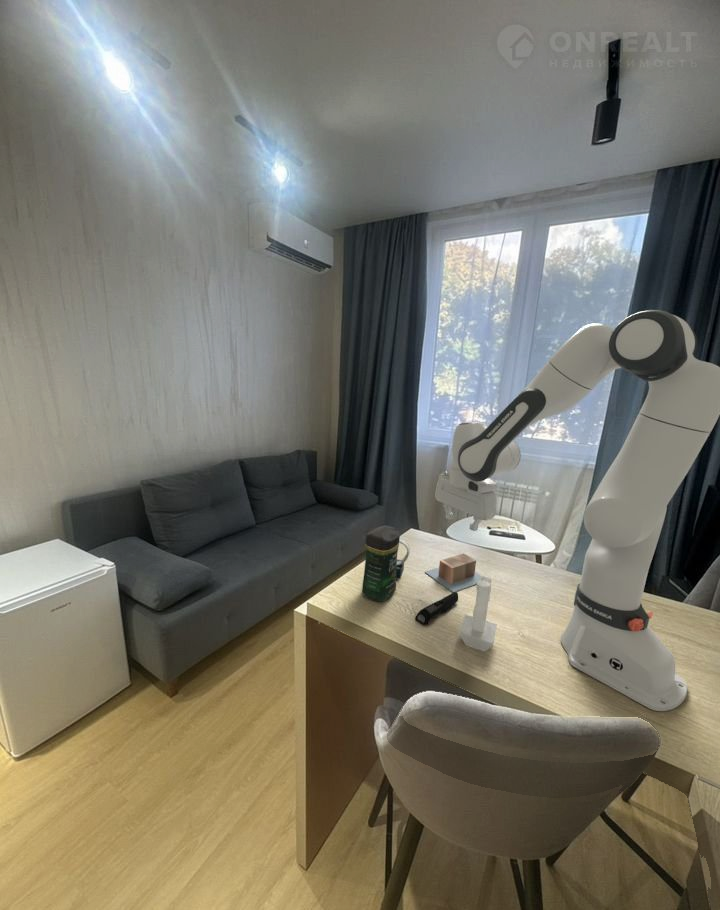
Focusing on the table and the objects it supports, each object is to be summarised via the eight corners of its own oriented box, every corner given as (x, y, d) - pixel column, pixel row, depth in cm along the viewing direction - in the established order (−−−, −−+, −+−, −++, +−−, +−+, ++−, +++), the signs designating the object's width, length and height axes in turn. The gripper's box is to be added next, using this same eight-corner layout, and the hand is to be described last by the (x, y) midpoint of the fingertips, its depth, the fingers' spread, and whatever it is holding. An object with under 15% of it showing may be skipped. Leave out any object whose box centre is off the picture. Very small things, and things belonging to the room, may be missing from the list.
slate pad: (487, 580, 111) (487, 579, 111) (453, 592, 104) (453, 591, 104) (457, 562, 121) (457, 561, 121) (424, 572, 114) (424, 571, 114)
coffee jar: (383, 606, 96) (387, 540, 92) (357, 595, 100) (360, 531, 96) (400, 589, 104) (405, 527, 100) (376, 580, 108) (379, 520, 104)
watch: (383, 566, 117) (385, 533, 114) (409, 571, 114) (411, 537, 112) (379, 574, 111) (381, 540, 109) (405, 580, 109) (408, 545, 107)
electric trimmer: (461, 605, 99) (462, 594, 99) (425, 628, 89) (426, 616, 89) (450, 598, 102) (451, 588, 101) (413, 620, 92) (414, 608, 91)
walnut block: (476, 560, 112) (452, 568, 107) (474, 575, 113) (450, 583, 108) (463, 553, 116) (439, 560, 111) (462, 568, 117) (438, 575, 112)
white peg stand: (456, 649, 82) (463, 588, 79) (464, 625, 91) (471, 569, 87) (490, 661, 79) (499, 598, 76) (495, 635, 88) (503, 577, 84)
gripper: (432, 470, 113) (428, 514, 115) (486, 489, 95) (480, 539, 98) (447, 468, 116) (443, 511, 119) (502, 486, 99) (496, 534, 102)
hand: (460, 524), depth 108 cm, fingers open, 8 cm apart
